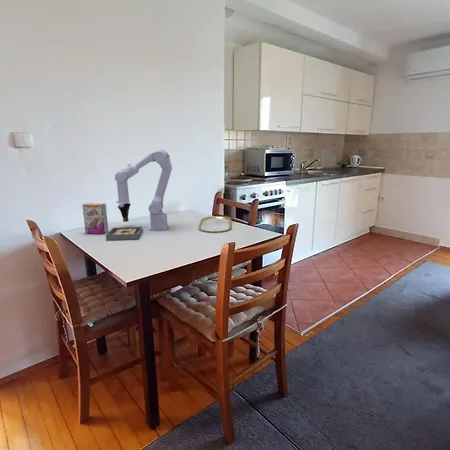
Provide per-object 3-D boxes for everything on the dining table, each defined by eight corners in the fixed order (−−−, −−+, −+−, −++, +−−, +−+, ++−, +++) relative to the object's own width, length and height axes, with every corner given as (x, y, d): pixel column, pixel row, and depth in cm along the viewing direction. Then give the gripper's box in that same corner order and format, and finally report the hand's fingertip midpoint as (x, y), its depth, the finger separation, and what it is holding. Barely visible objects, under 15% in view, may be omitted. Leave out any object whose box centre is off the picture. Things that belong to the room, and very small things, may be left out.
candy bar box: (85, 234, 177) (81, 204, 173) (89, 231, 182) (86, 202, 178) (104, 234, 176) (101, 204, 172) (109, 231, 181) (106, 202, 177)
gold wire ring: (231, 218, 211) (231, 216, 210) (231, 233, 177) (231, 231, 176) (202, 218, 211) (202, 216, 211) (196, 233, 177) (196, 231, 177)
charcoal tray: (143, 232, 180) (142, 226, 179) (138, 239, 166) (137, 234, 166) (113, 232, 179) (112, 227, 178) (106, 240, 165) (105, 234, 165)
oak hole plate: (136, 232, 178) (136, 228, 177) (133, 237, 168) (132, 234, 167) (118, 232, 177) (117, 229, 176) (113, 238, 167) (112, 234, 167)
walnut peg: (129, 220, 188) (127, 206, 186) (127, 221, 185) (126, 207, 183) (123, 220, 188) (122, 207, 186) (122, 221, 185) (121, 208, 183)
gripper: (119, 191, 189) (121, 214, 193) (112, 195, 175) (115, 220, 179) (131, 191, 190) (133, 213, 193) (125, 195, 176) (128, 219, 179)
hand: (125, 217), depth 186 cm, fingers closed on walnut peg, 3 cm apart
